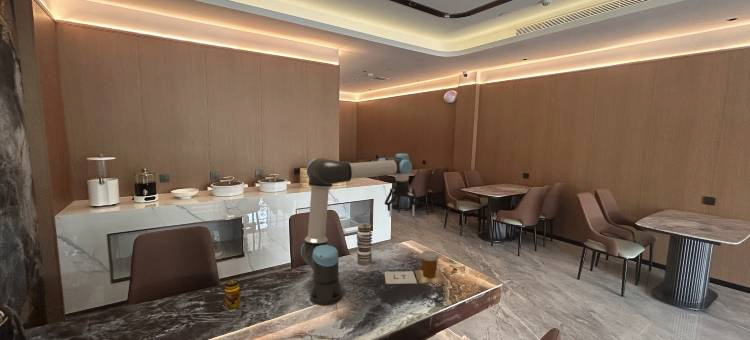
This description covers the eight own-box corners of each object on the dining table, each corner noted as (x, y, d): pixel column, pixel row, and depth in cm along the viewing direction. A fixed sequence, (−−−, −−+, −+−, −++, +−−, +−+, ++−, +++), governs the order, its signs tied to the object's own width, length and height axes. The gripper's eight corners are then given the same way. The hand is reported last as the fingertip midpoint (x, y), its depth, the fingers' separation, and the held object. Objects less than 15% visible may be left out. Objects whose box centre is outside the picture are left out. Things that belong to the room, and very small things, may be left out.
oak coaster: (418, 283, 162) (418, 281, 162) (414, 271, 176) (414, 270, 176) (445, 282, 163) (445, 281, 163) (439, 271, 177) (439, 269, 176)
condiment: (231, 313, 135) (229, 286, 134) (218, 308, 139) (217, 282, 138) (245, 305, 142) (244, 280, 140) (233, 300, 146) (232, 275, 144)
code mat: (386, 284, 162) (386, 283, 162) (384, 272, 176) (384, 271, 176) (417, 283, 162) (417, 282, 162) (412, 271, 176) (412, 271, 176)
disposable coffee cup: (417, 273, 172) (417, 251, 171) (432, 270, 175) (433, 250, 174) (425, 280, 163) (425, 258, 162) (441, 278, 166) (442, 256, 165)
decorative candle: (375, 263, 188) (375, 222, 185) (366, 269, 180) (366, 226, 177) (362, 260, 192) (362, 220, 190) (353, 265, 185) (353, 224, 182)
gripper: (422, 179, 187) (421, 214, 189) (380, 179, 186) (380, 214, 188) (424, 181, 179) (424, 217, 181) (380, 181, 178) (380, 218, 181)
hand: (401, 216), depth 185 cm, fingers open, 13 cm apart
